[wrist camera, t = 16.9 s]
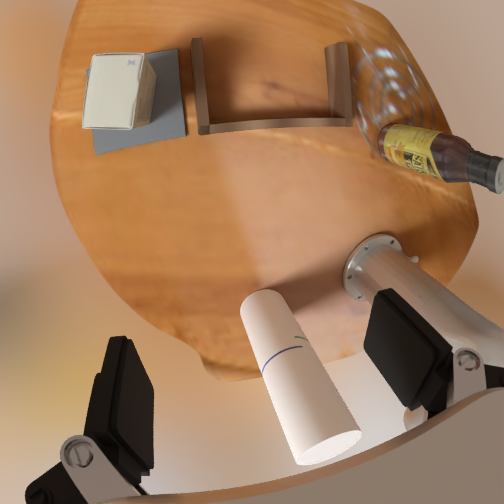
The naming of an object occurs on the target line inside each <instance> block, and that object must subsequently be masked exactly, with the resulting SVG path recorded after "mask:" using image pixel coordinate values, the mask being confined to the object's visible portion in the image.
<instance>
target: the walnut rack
mask: <svg viewBox="0 0 504 504" xmlns="http://www.w3.org/2000/svg"><path fill="white" fill-rule="evenodd" d="M325 58H326V69H327V81H328V96H329V113H330V118H279V119H261V120H248V121H236V122H226V123H217V124H209V114H208V104H207V94H206V83H205V71H204V59H203V47H202V38H192V42H191V61H192V73H193V84H194V95H195V105H196V115H197V125H198V134H199V135H208V134H215V133H224V132H233V131H243V130H254V129H267V128H284V127H313V126H346V127H353V118H352V96H351V81H350V69H349V58H348V48H347V43H342V42H339V43H336V44H334V45H331V46H328V47H326V48H325Z"/></svg>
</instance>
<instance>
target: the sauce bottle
mask: <svg viewBox="0 0 504 504" xmlns="http://www.w3.org/2000/svg"><path fill="white" fill-rule="evenodd" d="M378 147H379V151H380V153H381V155H382V156H383V158H385V159H386V160H387V161H390V162H391V163H393V164H396V165H399V166H402V167H405V168H408V169H411V170H414V171H416V172H419V173H422V174H425V175H427V176H431V177H433V178H436V179H439V180H441V181H444V182H447V183H453V182H472V183H476V184H479V185H481V186H484V187H487V188H488V189H489V190H490V191H492V192H494V193H497V194H500V193H502V191H503V190H504V159H503V158H500V157H498V156H490V155H486V154H484V153H481V152H480V151H475V150H474V149H473V148H472V147H471V145H470V144H469V143H468V142H467V141H466V140H464V139H462V138H460V137H458V136H454V135H450V134H447V133H445V132H440V131H435V130H430V129H425V128H420V127H415V126H408V125H402V124H391V125H387V126H385V127H384V128H383V129H382V130H381V132H380V134H379V138H378Z"/></svg>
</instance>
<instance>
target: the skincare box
mask: <svg viewBox="0 0 504 504" xmlns="http://www.w3.org/2000/svg"><path fill="white" fill-rule="evenodd" d="M156 79H157V75H156V73H155V72H154V70H153V68H152V66H151V64H150V63H149V61H148V59H147V57H146V56H145V54H144V53H105V54H95V55H93V57H92V61H91V65H90V69H89V73H88V78H87V84H86V91H85V98H84V107H83V119H82V128H84V129H110V130H131V129H135V128H138V127H142V126H146V125H149V123H150V118H151V112H152V106H153V99H154V93H155V86H156Z"/></svg>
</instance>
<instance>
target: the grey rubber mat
mask: <svg viewBox="0 0 504 504" xmlns="http://www.w3.org/2000/svg"><path fill="white" fill-rule="evenodd" d="M145 56H146V57H147V59H148V61H149V63H150V64H151V66H152V68H153V70H154V72H155V73H156V75H157V79H156V86H155V93H154V99H153V106H152V112H151V118H150V123H149V125H146V126H142V127H138V128H135V129H131V130H110V129H92V133H93V140H94V147H95V153H96V155H99V154H103V153H107V152H111V151H115V150H119V149H123V148H127V147H132V146H136V145H141V144H146V143H151V142H156V141H161V140H167V139H172V138H178V137H184V136H186V133H185V124H184V115H183V106H182V96H181V85H180V74H179V61H178V49H172V50H165V51H159V52H154V53H148V54H145ZM89 69H90V68H89ZM89 69H86V71H87V78H88V73H89Z"/></svg>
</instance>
